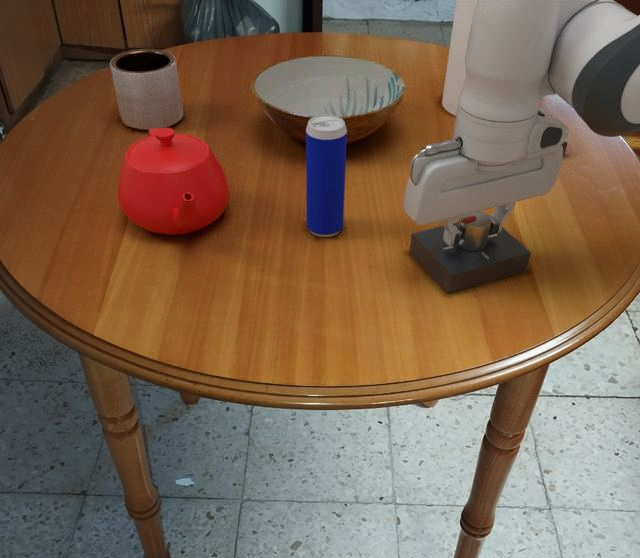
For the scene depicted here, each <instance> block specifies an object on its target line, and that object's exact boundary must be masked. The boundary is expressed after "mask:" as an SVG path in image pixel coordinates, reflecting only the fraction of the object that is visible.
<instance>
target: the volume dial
mask: <svg viewBox="0 0 640 558" xmlns="http://www.w3.org/2000/svg"><path fill="white" fill-rule="evenodd" d="M490 216H491V215H489V214H488V213H487V212H484V211H479V212H475V213H471V214H467V215H463V216H459V217H458V222H459V223H458V228H457V229H458V230H460V231H461V232H462V235H461V238H460V240H461V241H460V243H458V244H457V246H459V247H460V248H462V249H464V250H468V251H478V250H481V249H483V248H484V247H485V246H486V243H487V238H488V234H489V229H490V225H491V217H490Z"/></svg>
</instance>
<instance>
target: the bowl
mask: <svg viewBox="0 0 640 558" xmlns="http://www.w3.org/2000/svg"><path fill="white" fill-rule="evenodd" d="M250 85H251V87H250V88H251V91H252V95H254V97H255V99H256V101H257V103H258V105H259V106H260V108H261V109H262V111H263V113H264V114H265V115H266V116H267V118H268V119H269V120H270V121H271V122H272V123H273V125H275V126H276V127H277V128H278V129H280V130H281V131H282V132H284V133H285V134H286V135H289V136H291V137H292V138H294V139H297V140H298V141H300V142H302V143H304V144H306V128H307V125H308V122H309V120H310V119H311V118H313V117H315V116H318V115H334V116H337V117H340V118H341V119H343V120H344V122H345V125H346V129H347V141H346V146H348V145H350V144H353V143H356V142H357V141H359V140H361V139H363V138H366V137H368V136H370V135H371V134H373V133H374V132H376V131H377V130H378V129H379V128H380V127H382V126H383V125H384V124H385V123H386V122H387V121H388V120H389V118H390V117H391V116H392V115H393V114H394V113H395V111H396V110H397V108H398V107H399V105H400V104H401V102H402V100H403V98H404V96H405V94H406V91H407V84H406V81H405V80H404V78H403V77H402V75H400V73H398V72H397V71H396V70H394V69H392V68H391V67H389V66H387V65H384V64H382V63H380V62H377V61H373V60H371V59H370V60H369V59H366V58H362V57H361V58H360V57H356V56H350V55H348V56H347V55H338V54H337V55H336V54H317V55H305V56H298V57H294V58H289V59H284V60H282V61H278V62H275V63H273V64H270V65H269V66H266V67H264V68H263V69H261V70H260V71H259V72H257V73H256V75H255V76H254V77H253V79H252V80H251V84H250Z"/></svg>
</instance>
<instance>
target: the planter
mask: <svg viewBox="0 0 640 558" xmlns="http://www.w3.org/2000/svg"><path fill="white" fill-rule="evenodd" d="M109 67H110V71H111V78H112V82H113V86H114V92H115V98H116V102H117V107H118V113H119V117H120V120H121V122H122V123H123V124H124V125H125V126H127V127H128V128H131V129H134V130H136V131H141V132H149V130H151V129H153V128H158V129H160V128H172V127H174V126H176V125H177V124H178V123H179V122H180V121H182V119H183V117H184V105H183V99H182V92H181V87H180V80H179V73H178V67H177V60H176V57H175V56H174V54H172V53H170V52H168V51H166V50H163V49H157V48H156V49H155V48H139V49H131V50H128V51H124V52H121V53H119V54H117V55H115V56H114V57H112V58H111V60H110V61H109ZM121 118H122V119H121ZM123 120H124V121H125V122H127V123H129V124H127V123H125V122H124V121H123ZM130 124H132V125H130ZM133 125H136V126H133ZM138 126H141V127H138Z"/></svg>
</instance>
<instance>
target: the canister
mask: <svg viewBox="0 0 640 558" xmlns="http://www.w3.org/2000/svg"><path fill="white" fill-rule="evenodd" d="M476 3H477V0H455V7H454V15H453V21H452V27H451V36H450V41H449V42H450V43H449V49H448V50H449V51H448V57H447V62H446V63H447V65H446V70H445V71H446V72H445V78H444V86H443V92H442V100H441V105H442V107H443V109H444V110H445V111H446V112H448V113H450V114H451V115H453V116H455V117H456V114H457V107H458V101H459V96H460V93H461V91H462V89H463V87H464V84H465V79H466V68H465V56H466V50H467V44H468V38H469V33H470V28H471V23H472V18H473V14H474V10H475V6H476Z"/></svg>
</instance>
